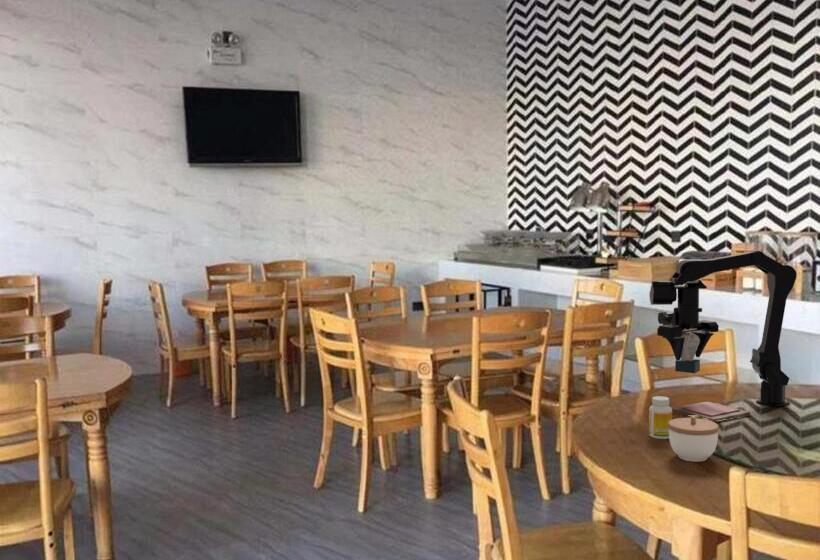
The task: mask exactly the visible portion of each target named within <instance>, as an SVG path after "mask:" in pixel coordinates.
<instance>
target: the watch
mask: <svg viewBox="0 0 820 560" xmlns="http://www.w3.org/2000/svg"><path fill="white" fill-rule="evenodd" d="M681 337H684V338H685V340H684V345H683V350H682V355H681V358H680V360H679V361H678V360H676V359H675V372H678V373H679V372H680V373H688V374H696V373H698V372H700V370H701V360H700V359H695V357H696V355H695V353H696V350H697V348H698V345H699V343H700V339H699V337H698V336H697V335H696V334H694V333H691V332H685V333H683V334H682V336H681Z"/></svg>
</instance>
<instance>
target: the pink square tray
mask: <svg viewBox="0 0 820 560" xmlns="http://www.w3.org/2000/svg"><path fill="white" fill-rule="evenodd" d="M671 409H672V413H675V414H679V415H683V416H685V417H689V416H688V415H698V416H702V417H704V418H708V419H711V420H713V421H715V420H723V419H730V418H736V419H739V418H738V417H741V418H745V417H749V416H751V412H750V411H748V410H743V409H740V408H736V407H731V406H728V405H724V404H720V403H715V402H711V401H702V402H696V403H693V404H692V403H691V404H688V405H687V404H686V405H682V406H676V407H671Z"/></svg>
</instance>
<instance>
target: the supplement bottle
mask: <svg viewBox="0 0 820 560" xmlns="http://www.w3.org/2000/svg"><path fill="white" fill-rule="evenodd" d="M651 402H652V405H650V407H649V408H648V409H649V410H648V414H649V415H648V436H650V438H654V439H658V440H666V439H667V440H668V439H669V428H668V422H669V421H670V420H673V412H672V407H671V406H669V405H670V397H667V396H661V395H658V396H657V395H656V396H653V397H652V399H651Z"/></svg>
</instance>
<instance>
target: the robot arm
mask: <svg viewBox="0 0 820 560" xmlns="http://www.w3.org/2000/svg"><path fill="white" fill-rule="evenodd" d="M750 266H754V267H756V268H757V269H758V270H760V272H763V273H764V274H765V275H766V277H767V278H766V279H767V280H766V283H767V285H766V286H767V288H768V289H767V291H768V303H767V307H766V313H765V319H764V326H763V331H762V338H761V342H760V345H759V346H758V348H752V350H751V352H752V353H751V359H750V361H749V362H750V363H751V367H752V370H753V371H754V372H755V373H756V374H758V377H759V379H760V380H762V381H761V382H760V399H757V400H755V402H756V403H757V404H762V405H766V406H770V407H774V408H777V407H781V406H785V405H790V404H791V402H790V401H787V400H786V386H788V384H789V381H790V377H789V376H788V375H786V373H785V372H784V371H782V370H781V369H782V367H781V366H782V363H781V360H782V359H781V354H780V348H779V347H780V346H779V345H780V339H781V333H782V329H783V328H782V327H783V323H784V316H785V310H786V304H787V299H788V296H789V294H790V293H791V292H792V290H793V288H794V285H795V282H796V281H797V271H796V270H795V267H792V265H788V264H783V263H780V262H779V261H777V260H776V259H773V258H772V257H770V256H768V255H767V254H765V253H764V252H763V251H760V250H756V249H752V250H750V251H746V252H742V253H740V252H739V253H736V254H732V255H725V256H721V257H716V258H711V259H710V258H709V259H699V258H698V259H695V258H694V259H681V261H679V262H678V263H677V264H676V267H675V272H674V273H673V275H672V276H671V277H670V278H669V280H664V281H663V280H661V281H658V280H652V281H651V286H650V291H649V302H650V305H651V306H653V305H655V306H657V305H660V306H662V305H663V306H664V305H669V306H670V305H673V303H675V302H676V301H677V306H676V307H674V308H673V313H667V311H662V312H661V311H660V312H658V314H657V322H658V323H659V324H660V325H659V326H658V327H657V328H656V329H657V330H656V332H657V333H656V335H657V336H659V337H662V338H663V339H665V340H667V341H668V342H669V345H670V347H671V349H672V352H673V355H674V358H675V360H678V361H679V360H680V358H681V355H682V350H683V345H684V340H685V338H684V337H681V336H682V334H683V333H694V334H696V335H697V336H698V337H699V339H700V343H699V345H698V348H697V350H696V353H695V357H696V358H700V357H701V355H702V354H703V352H704V349H705V348H706V346H707V344H708V342H709V341H710V340H711V338H712V336H714V335H715V334H714V333H716V332H719V324H718V323H717V321H711V320H705V319H701V320H699V319H700V313H702V312H703V308H702V307H700V290H702V289H704V290H705V289H707V285H705V284H704V282H702V280H700V279H702V278H705V277H707V276H709V275H711V274H714V273H719V272H725V271H729V270H731V271H732V270H735V269H736V270H737V269H741V268H746V267H750ZM695 281H696V282H695ZM661 324H662V325H661Z"/></svg>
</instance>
